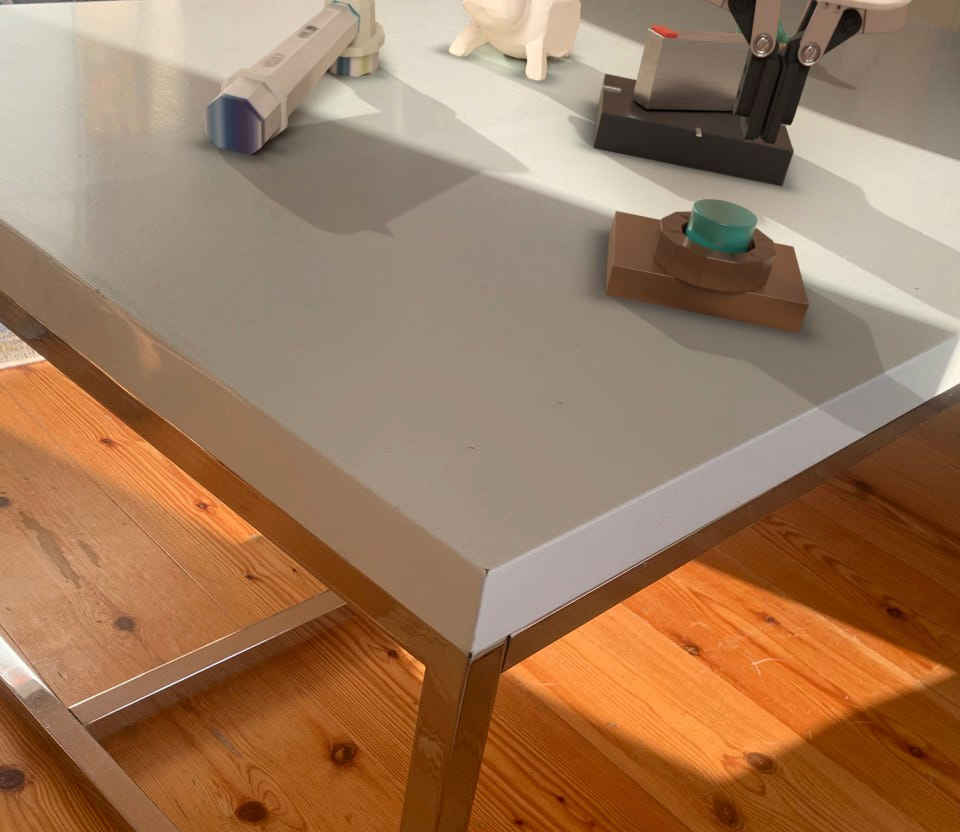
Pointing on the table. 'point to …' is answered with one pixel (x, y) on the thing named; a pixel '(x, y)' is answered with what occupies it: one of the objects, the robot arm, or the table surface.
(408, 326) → the table surface
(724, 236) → the button
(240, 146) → the white flashlight
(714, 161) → the lever base
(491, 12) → the pig figurine
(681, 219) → the button block
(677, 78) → the red-tipped steel block
